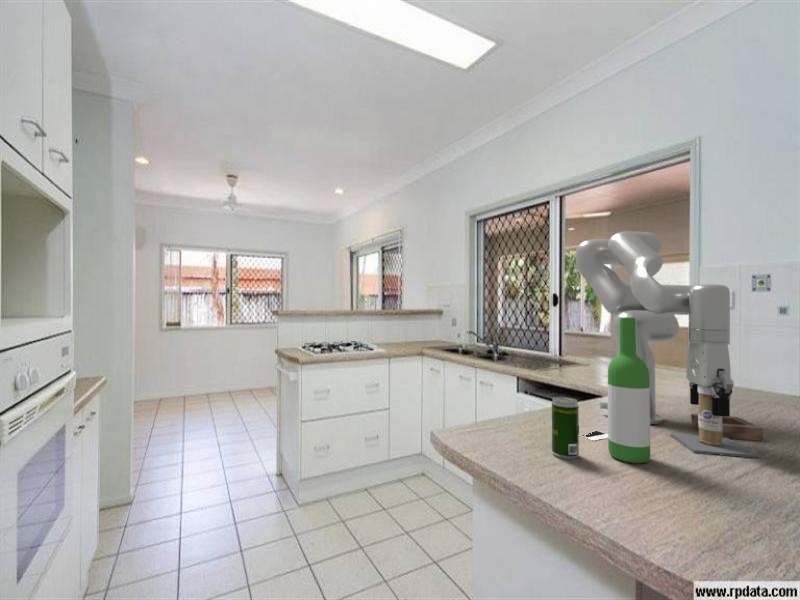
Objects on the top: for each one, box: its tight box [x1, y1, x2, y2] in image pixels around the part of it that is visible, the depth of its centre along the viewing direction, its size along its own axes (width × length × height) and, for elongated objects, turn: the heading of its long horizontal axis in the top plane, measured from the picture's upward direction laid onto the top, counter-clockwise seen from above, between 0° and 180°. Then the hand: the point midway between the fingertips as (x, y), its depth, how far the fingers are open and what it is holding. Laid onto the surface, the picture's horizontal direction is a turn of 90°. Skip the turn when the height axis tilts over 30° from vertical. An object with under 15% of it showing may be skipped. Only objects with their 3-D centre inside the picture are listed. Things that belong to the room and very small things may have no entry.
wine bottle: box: [607, 318, 651, 464], centre depth 82 cm, size 8×8×30 cm
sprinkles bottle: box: [697, 385, 723, 446], centre depth 89 cm, size 5×5×14 cm
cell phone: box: [582, 430, 608, 442], centre depth 100 cm, size 8×16×1 cm, turn 25°
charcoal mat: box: [669, 433, 760, 459], centre depth 89 cm, size 12×12×1 cm
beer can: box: [551, 396, 580, 460], centre depth 83 cm, size 5×5×12 cm
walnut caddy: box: [690, 413, 764, 441], centre depth 99 cm, size 10×10×3 cm
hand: (708, 409), depth 89 cm, fingers open, 9 cm apart
